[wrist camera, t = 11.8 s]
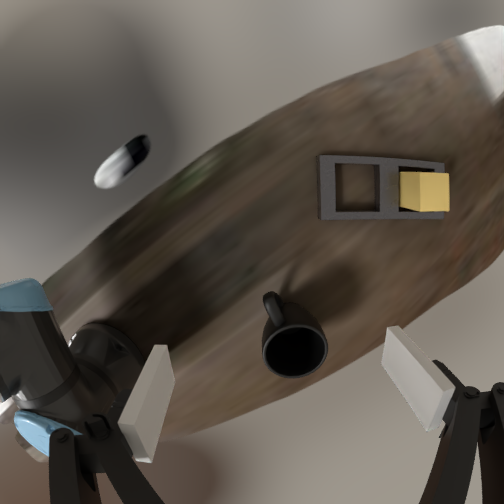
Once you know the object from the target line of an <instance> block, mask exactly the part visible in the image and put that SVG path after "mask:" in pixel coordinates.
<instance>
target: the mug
mask: <svg viewBox="0 0 504 504" xmlns="http://www.w3.org/2000/svg"><path fill="white" fill-rule="evenodd" d="M263 303H264V306H265V308H266V311H267V313H268V315H269V318H268V320H267V323H266V325H265V327H264V331H263V336H262V355H263V360H264V363H265V365H266V366H267V367H268V369H269V370H270V371H271V372H273V373H274V374H276V375H278V376H281V377H284V378H300V377H304V376H307V375H309V374H311V373H313V372H314V371H316V370H317V369H318V368H319V367H320V366H321V365H322V364H323V362H324V361H325V359H326V356H327V353H328V343H327V339H326V337H325V334H324V332H323V330H322V328H321V326H320V324H319V323H318V321H317V320H316V319H315V318H314V317H313V316H312V315H311V314H310V313H309V312H308V311H307V310H305V309H304V308H302V307H301V306H300V305H298V304H295V303H290V302H289V303H283V301H282V299H281V297H280V296H279V295H278V294H277V293H275V292H274V291H270V292H268V293H266V294H265V295H264V296H263Z"/></svg>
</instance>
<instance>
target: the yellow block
mask: <svg viewBox="0 0 504 504" xmlns="http://www.w3.org/2000/svg"><path fill="white" fill-rule="evenodd" d="M399 206H400V207H404V208H408V209H412V210H416V211H420V212H425V211H449V173H430V172H399Z"/></svg>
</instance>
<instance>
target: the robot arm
mask: <svg viewBox="0 0 504 504" xmlns="http://www.w3.org/2000/svg"><path fill="white" fill-rule="evenodd" d="M381 365H382V366H383V367H384V369H385V370H386V372H387V373H388V374H389V376H390V377H391V379H392V380H393V382H394V383H395V385H396V386H397V388H398V389H399V391H400V392H401V394H402V395H403V396H404V398H405V400H406V401H407V403H408V404H409V406H410V407H411V409H412V410H413V411H414V413H415V415H416V416H417V418H418V419H419V420H420V422H421V424H422V425H423V427H424V428H425V430H426V432H428V431H430V430H433V429H436V428H438V427H439V425H440V423H441V421H442V419H443V421H444V422H445V423H446V424H445V426H444V428H443V430H442V432H441V434H440V436H439V438H441V441H440V444H439V447H438V451H437V454H436V458H435V461H434V464H433V467H432V470H431V473H430V476H429V479H428V481H427V484H426V487H425V490H424V492H423V495H422V497H421V500H420V502H419V504H464V503H465V500H466V496H467V492H468V488H469V484H470V479H471V475H472V470H473V465H474V460H475V453H476V448H477V442H478V449H479V457H480V467H481V480H482V498H483V499H482V503H483V504H504V383H502V382H499V383H496V384H494V385H493V387H492V389H491V391H488V392H480V391H479V390H478V389H477V388H475V387H471V386H467V387H465V386H464V385H463V384H462V383H461V382H460V381H459V379H458V378H457V377H455V375H454V374H452V372H451V371H450V370H448V368H447V367H446V366H445V365H444V364H443V363H441V362H439V361H438V360H433V361H431V360H430V359H429V357H428V356H427V355H426V354H425V353H424V352H423V351H422V350H421V349H420V348H419V347H418V346H417V345H416V344H415V343H414V342H413V341H412V340H411V339H410V338H409V337H408V335H406V333H405V332H404V331H403V330H402V329H401V328H400V327H399V326H393V327H387V333H386V339H385V345H384V351H383V357H382V362H381ZM174 384H175V378H174V374H173V370H172V366H171V361H170V357H169V352H168V347H167V345H154V347H153V349H152V351H151V353H150V355H149V357H148V359H147V361H146V363H145V362H144V359H143V357H142V355H141V353H140V351H139V350H138V348H137V347H136V346H135V344H134V343H133V342H132V341H131V340H130V339H129V338H128V337H127V336H126V335H124V334H123V333H122V332H120V331H118V330H117V329H115V328H113V327H111V326H108V325H105V324H100V323H91V324H87V325H84V326H82V327H81V328H80V329H79V330H78V331H77V332H76V333H75V334H74V335H73V336H72V338H71V340H70V342H69V345H67V343H66V341H65V338H64V336H63V334H62V332H61V329H60V327H59V325H58V322H57V320H56V317H55V315H54V312H53V307H52V306H51V305H50V303H49V301H48V299H47V297H46V295H45V292H44V290H43V287H42V286H41V284H40V283H39V282H38V281H37V280H35V279H32V278H25V279H20V280H15V281H11V282H7V283H4V284H0V402H1V403H3V402H4V401H6V400H7V399H8V398H10V397H12V399H13V400H14V402H15V403H16V405H17V406H18V408H19V411H16V413H15V417H14V422H15V426H16V428H17V429H18V431H19V432H20V433H21V435H22V436H23V437H24V438H25V439H26V440H27V441H28V442H29V443H30V444H32V445H33V446H34V447H35V448H37V449H38V450H39V451H41V452H42V453H44V454H45V455H47V456H49V487H50V502H51V504H102V503H101V498H100V493H99V488H98V483H97V477H96V473H106V474H107V476H108V478H109V480H110V481H111V483H112V485H113V487H114V488H115V490H116V492H117V494H118V495H119V497H120V499H121V500H122V502H123V503H124V504H165V503H164V502H163V501H162V500H161V498H160V497H159V496H158V495H157V493H156V492H155V491H154V489H153V488H152V487H151V485H150V484H149V482H148V481H147V480H146V478H145V477H144V475H143V474H142V473H141V471H140V470H139V468H138V467H137V465H136V464H135V462H134V461H133V459H132V455H134V457H135V459H136V461H140V462H148V463H152V460H153V457H154V453H155V449H156V446H157V442H158V439H159V435H160V432H161V428H162V425H163V421H164V418H165V414H166V411H167V408H168V404H169V401H170V398H171V394H172V391H173V388H174Z"/></svg>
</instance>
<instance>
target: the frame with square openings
mask: <svg viewBox="0 0 504 504" xmlns="http://www.w3.org/2000/svg"><path fill="white" fill-rule="evenodd" d="M316 158H317V188H318V218H319V219H320V220H348V219H444V211H425V212H420V211H416V210H399V170H398V166H400V167H414V168H425V169H428V172H430V173H445V169H444V163H438V162H429V161H420V160H409V159H397V158H382V157H364V156H337V155H319V156H316ZM335 164H363V165H374V182H375V210H336V192H335Z"/></svg>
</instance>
